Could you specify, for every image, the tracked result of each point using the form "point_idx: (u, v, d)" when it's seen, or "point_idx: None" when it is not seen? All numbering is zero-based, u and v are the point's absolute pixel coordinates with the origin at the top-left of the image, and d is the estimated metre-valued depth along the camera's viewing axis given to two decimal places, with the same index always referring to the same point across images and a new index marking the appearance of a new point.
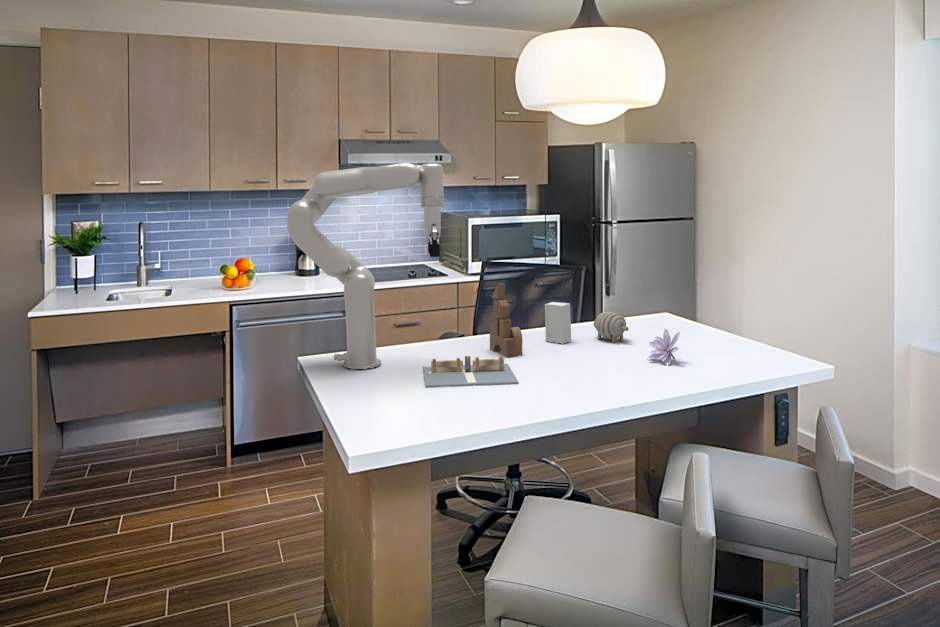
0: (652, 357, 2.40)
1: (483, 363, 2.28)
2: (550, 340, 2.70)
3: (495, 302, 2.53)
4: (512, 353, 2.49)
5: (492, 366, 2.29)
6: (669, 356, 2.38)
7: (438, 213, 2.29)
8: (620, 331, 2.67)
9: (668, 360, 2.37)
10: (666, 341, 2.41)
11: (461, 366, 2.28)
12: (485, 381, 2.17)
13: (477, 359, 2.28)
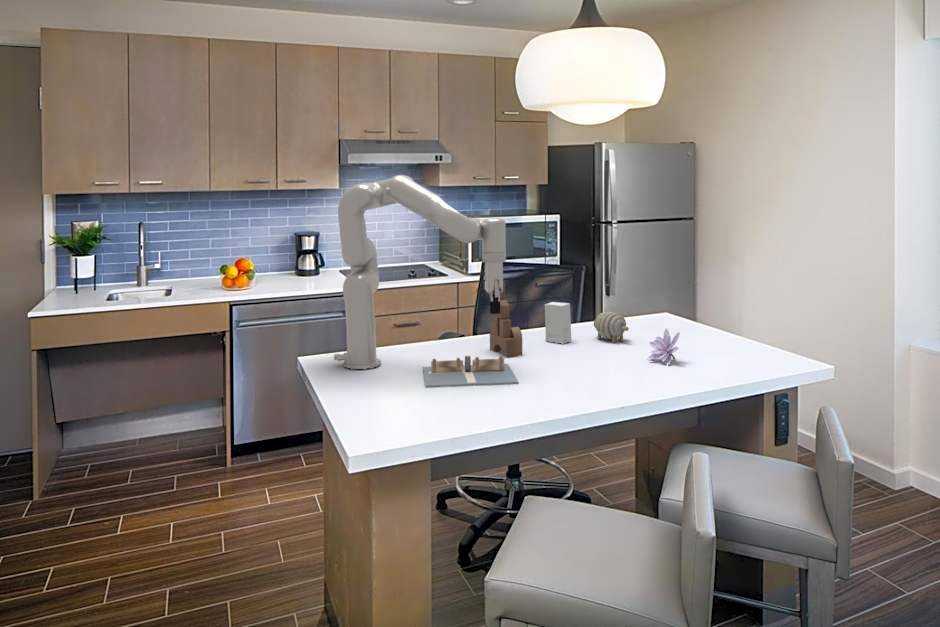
0: (652, 357, 2.40)
1: (483, 363, 2.28)
2: (550, 340, 2.70)
3: None
4: (512, 353, 2.49)
5: (492, 366, 2.29)
6: (669, 356, 2.38)
7: (501, 269, 2.26)
8: (620, 331, 2.67)
9: (668, 360, 2.37)
10: (666, 341, 2.41)
11: (461, 366, 2.28)
12: (485, 381, 2.17)
13: (477, 359, 2.28)
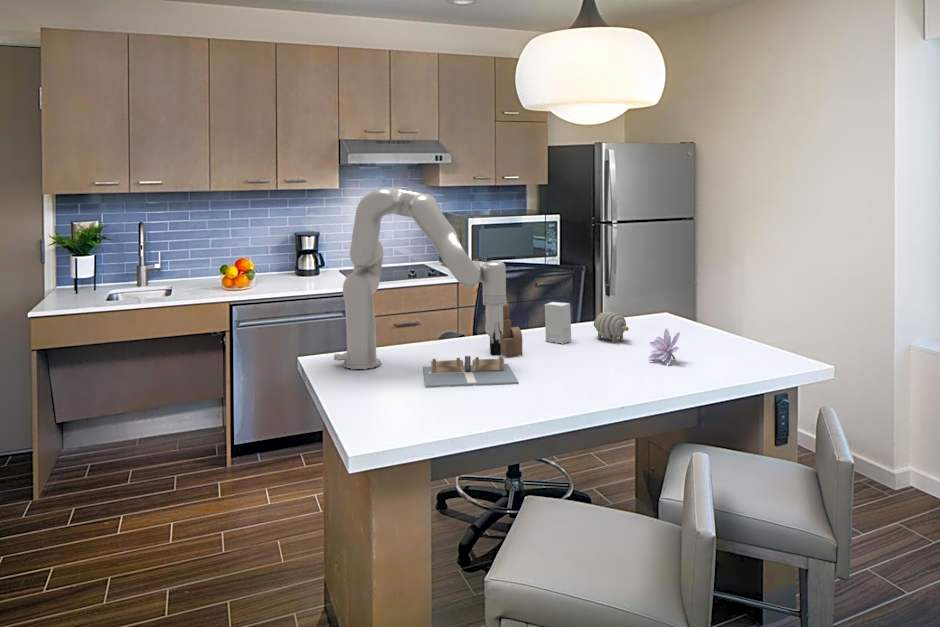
0: (652, 357, 2.40)
1: (483, 363, 2.28)
2: (550, 340, 2.70)
3: None
4: (512, 353, 2.49)
5: (492, 366, 2.29)
6: (669, 356, 2.38)
7: (501, 312, 2.29)
8: (620, 331, 2.67)
9: (668, 360, 2.37)
10: (666, 341, 2.41)
11: (461, 366, 2.28)
12: (485, 381, 2.17)
13: (477, 359, 2.28)
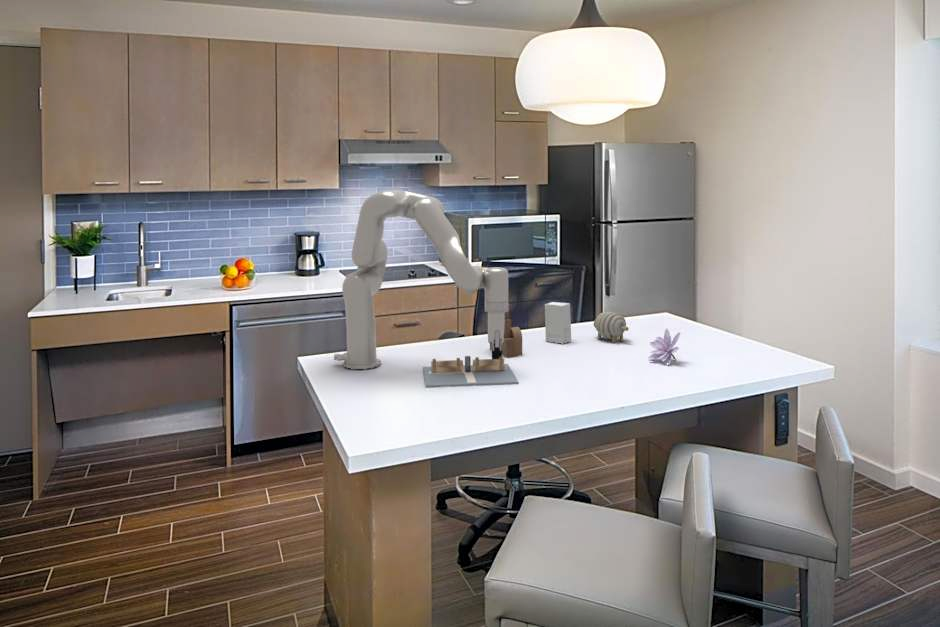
0: (652, 357, 2.40)
1: (483, 363, 2.28)
2: (550, 340, 2.70)
3: None
4: (512, 353, 2.49)
5: (492, 366, 2.28)
6: (669, 356, 2.38)
7: (502, 319, 2.24)
8: (620, 331, 2.67)
9: (668, 360, 2.37)
10: (667, 341, 2.41)
11: (461, 366, 2.28)
12: (485, 381, 2.17)
13: (477, 359, 2.27)
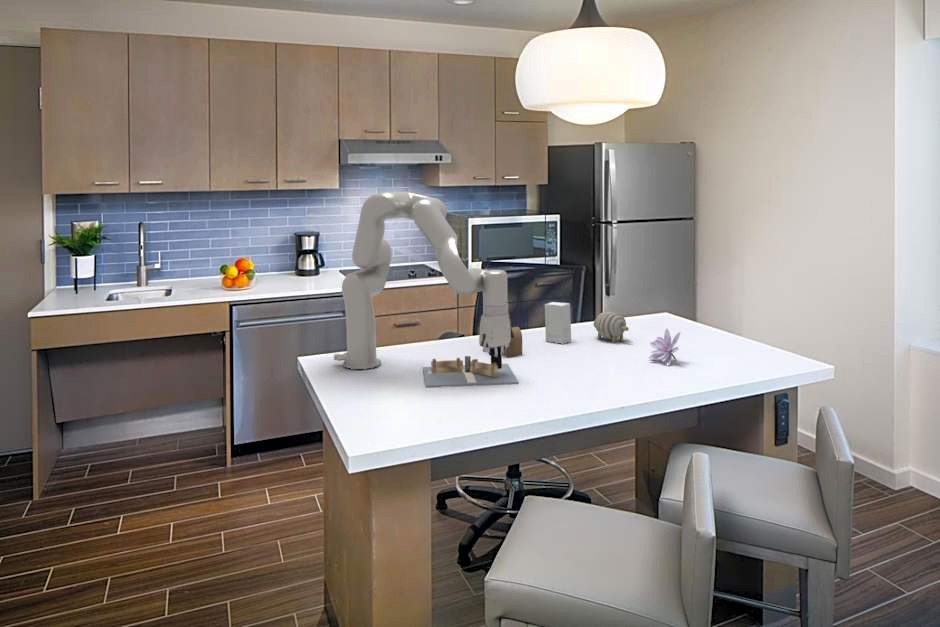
0: (653, 357, 2.40)
1: (478, 366, 2.25)
2: (550, 340, 2.70)
3: None
4: (512, 353, 2.49)
5: (485, 371, 2.23)
6: (670, 356, 2.38)
7: (489, 323, 2.17)
8: (620, 331, 2.67)
9: (668, 360, 2.37)
10: (667, 341, 2.41)
11: (461, 366, 2.28)
12: (485, 381, 2.17)
13: (473, 361, 2.25)
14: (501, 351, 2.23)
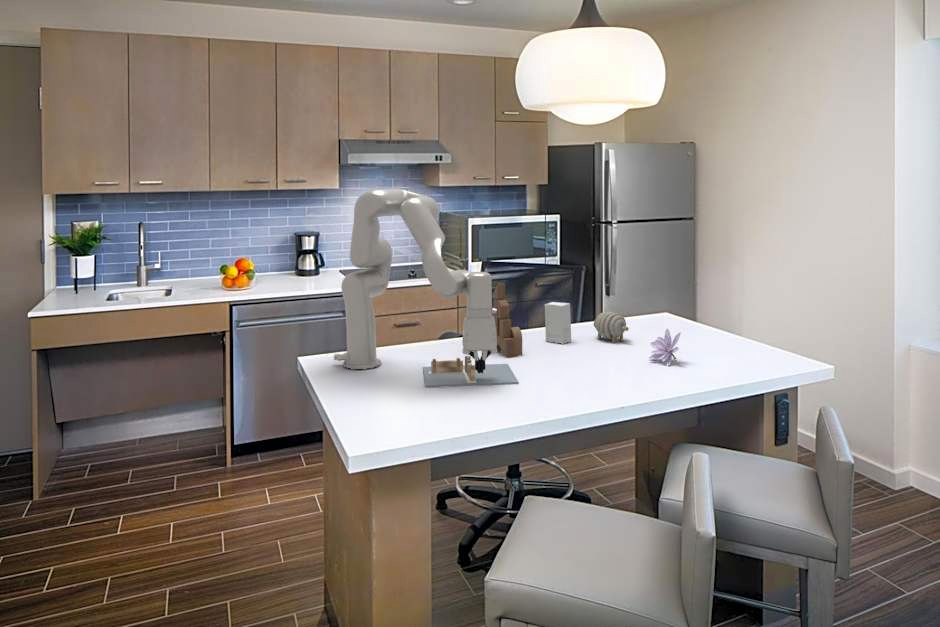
0: (653, 357, 2.40)
1: (467, 367, 2.23)
2: (550, 340, 2.70)
3: (495, 302, 2.53)
4: (512, 353, 2.49)
5: (469, 373, 2.21)
6: (670, 356, 2.38)
7: (465, 325, 2.15)
8: (620, 331, 2.67)
9: (669, 360, 2.37)
10: (667, 341, 2.41)
11: (461, 366, 2.28)
12: (485, 381, 2.17)
13: None
14: (483, 356, 2.17)
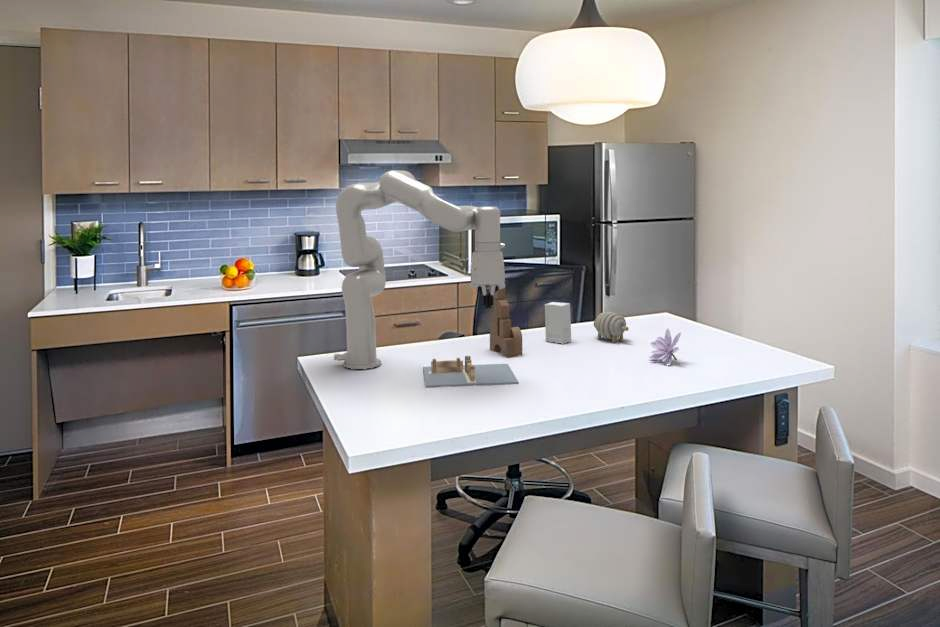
0: (653, 357, 2.40)
1: (467, 367, 2.23)
2: (550, 340, 2.70)
3: (495, 302, 2.53)
4: (512, 353, 2.49)
5: (469, 373, 2.21)
6: (670, 356, 2.38)
7: (473, 259, 2.16)
8: (620, 331, 2.67)
9: (669, 360, 2.37)
10: (667, 341, 2.41)
11: (461, 366, 2.28)
12: (485, 381, 2.17)
13: None
14: (491, 290, 2.18)
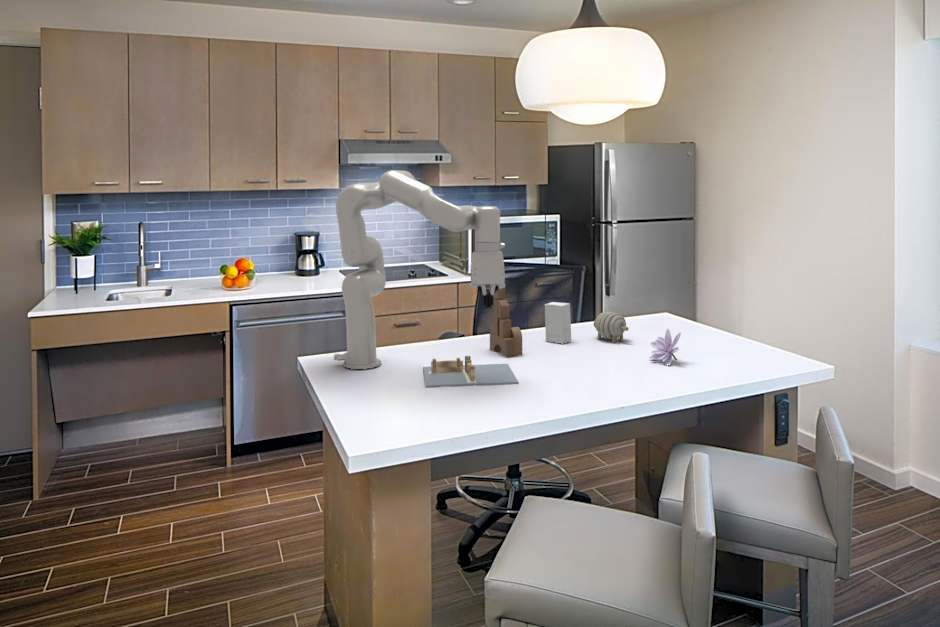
0: (653, 357, 2.40)
1: (467, 367, 2.23)
2: (550, 340, 2.70)
3: (495, 302, 2.53)
4: (512, 353, 2.49)
5: (469, 373, 2.21)
6: (670, 356, 2.38)
7: (473, 259, 2.16)
8: (620, 331, 2.67)
9: (669, 360, 2.37)
10: (667, 341, 2.41)
11: (461, 366, 2.28)
12: (485, 381, 2.17)
13: None
14: (491, 290, 2.18)
